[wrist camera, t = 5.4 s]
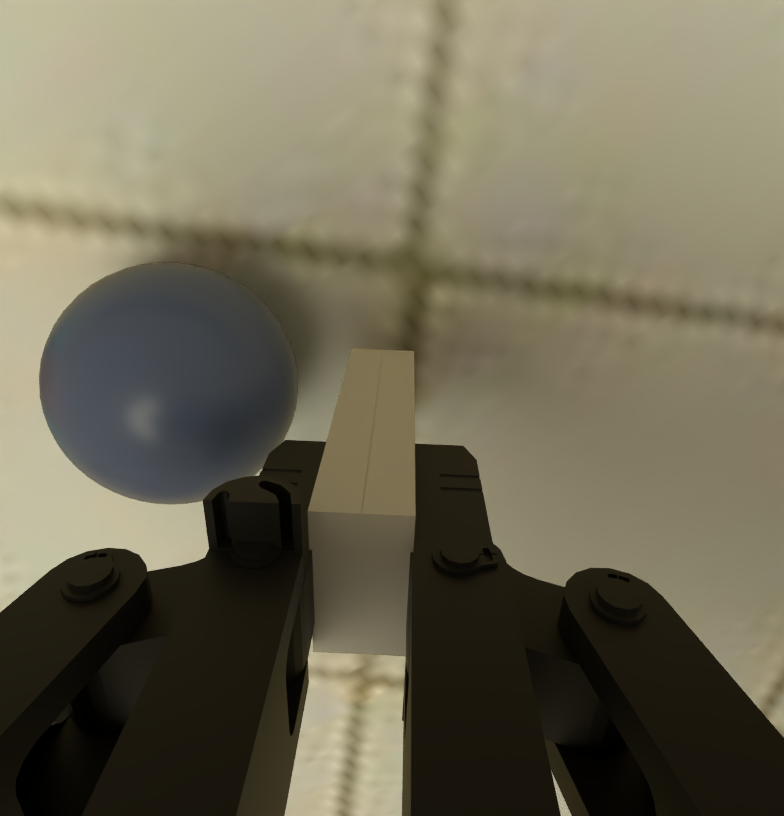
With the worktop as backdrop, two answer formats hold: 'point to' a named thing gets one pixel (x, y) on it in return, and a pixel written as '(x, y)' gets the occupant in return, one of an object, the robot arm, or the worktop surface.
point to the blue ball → (167, 382)
